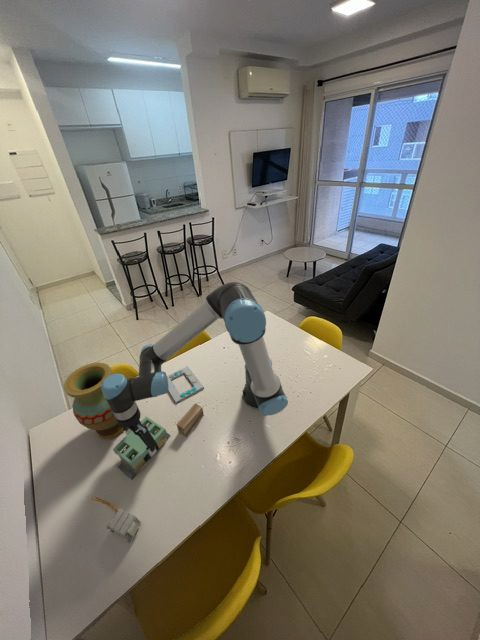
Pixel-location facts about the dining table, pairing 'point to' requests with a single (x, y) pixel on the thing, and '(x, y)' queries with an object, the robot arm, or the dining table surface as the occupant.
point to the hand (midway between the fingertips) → (143, 446)
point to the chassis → (132, 471)
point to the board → (138, 443)
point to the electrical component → (122, 522)
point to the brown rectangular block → (190, 419)
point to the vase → (92, 399)
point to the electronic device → (191, 391)
